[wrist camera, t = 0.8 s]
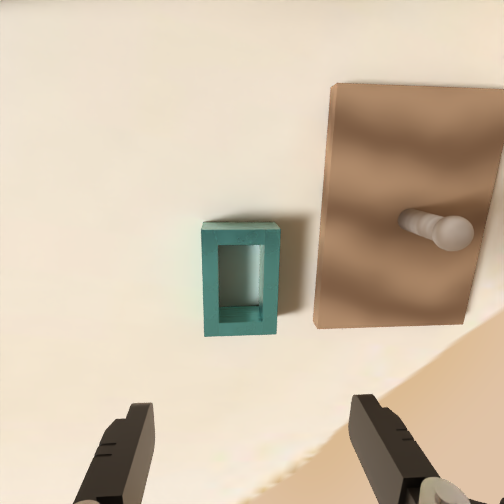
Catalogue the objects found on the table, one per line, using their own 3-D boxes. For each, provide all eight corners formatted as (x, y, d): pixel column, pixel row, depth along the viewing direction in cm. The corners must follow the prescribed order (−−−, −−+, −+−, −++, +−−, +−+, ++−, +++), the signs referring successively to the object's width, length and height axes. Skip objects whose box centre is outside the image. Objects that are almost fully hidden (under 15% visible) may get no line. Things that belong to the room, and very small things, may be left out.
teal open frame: (203, 222, 27) (201, 229, 24) (274, 221, 27) (280, 229, 24) (206, 319, 29) (204, 336, 26) (271, 317, 30) (276, 334, 27)
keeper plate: (330, 87, 24) (379, 54, 17) (499, 93, 26) (616, 65, 18) (312, 320, 30) (343, 376, 22) (452, 316, 31) (526, 367, 24)
